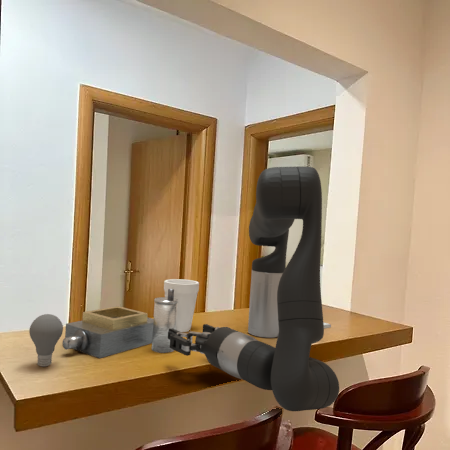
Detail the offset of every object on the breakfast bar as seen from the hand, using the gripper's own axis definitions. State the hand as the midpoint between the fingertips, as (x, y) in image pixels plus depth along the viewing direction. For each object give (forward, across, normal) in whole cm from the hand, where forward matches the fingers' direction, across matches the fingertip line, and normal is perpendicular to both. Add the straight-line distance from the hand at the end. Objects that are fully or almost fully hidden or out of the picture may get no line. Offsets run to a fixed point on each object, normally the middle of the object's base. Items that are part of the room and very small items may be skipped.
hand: (187, 330), depth 88 cm
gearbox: (+18, +10, +6) cm, 21 cm away
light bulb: (+11, +26, +7) cm, 29 cm away
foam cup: (+23, -12, +7) cm, 27 cm away
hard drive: (+12, -52, +7) cm, 54 cm away
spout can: (+9, 0, +6) cm, 11 cm away
